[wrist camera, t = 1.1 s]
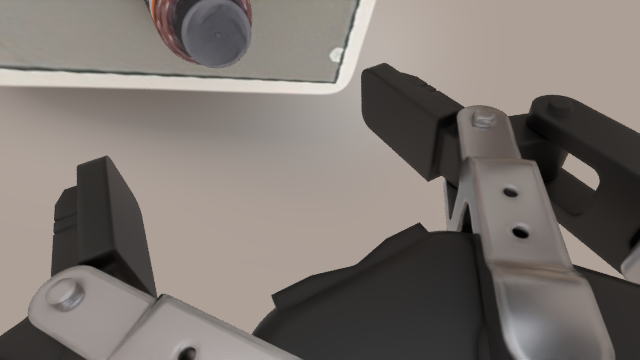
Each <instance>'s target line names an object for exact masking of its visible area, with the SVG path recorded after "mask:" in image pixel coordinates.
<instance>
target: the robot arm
mask: <svg viewBox="0 0 640 360" xmlns="http://www.w3.org/2000/svg"><path fill="white" fill-rule="evenodd" d="M361 94H362V96H361V97H362V115H363V119H364V121H365V123H366V125H367V126H368V127H369V128H370V129H371V130H372V131H373V132H374V133H375V134H376V135H377V136H379V137H380V138H381V139H382V140H383V141H384V142H385V143H386V144H387V145H389V146H390V147H391V148H392V149H393V150H394V151H395V152H396V153H397V154H398V155H399V156H400V157H402V158H403V159H404V160H405V161H406V162H407V163H408V164H409V165H410V166H411V167H413V168H414V169H415V170H416V171H417V172H418V173H419V174H420V175H421V176H422V177H423V178H425V179H426V180H427V181H428V182H429V181H431V180H433V179H435V178H437V177H439V176H443V177H444V178H445V181H444V199H445V211H446V225H447V231H434V232H428V231H427V230H426V229H425V228H424V227H423V226H422V225H421V224H420V223H417V224H415V225H413V226H411V227H409V228H407V229H405V230H403V231H401V232H399V233H397V234H395V235H393V236H391V237H389V238H387V239H385V240H384V241H383V242H382V243H381V244H380V245H379V246H377V247H376V248H375V249H374V250H373V251H372V252H371V253H369V254H368V255H367V256H366V257H365V258H364V259H362V260H361V261H360V262H359V263H358V264H356V265H354V266H350V267H346V268H342V269H338V270H334V271H330V272H325V273H320V274H316V275H312V276H309V277H307V278H305V279H303V280H301V281H299V282H297V283H295V284H293V285H291V286H289V287H287V288H285V289H283V290H281V291H279V292H277V293H275V294H273V295H272V299H273V302H274V304H275V307H276V308H274V309H273V311H271V312H270V313H269V314H268V315H267V316H266V317H265V318H264V319H263V320H262V321H261V322H260V323H259V325H258V326H257V327H256V329H255V330H254V331H253V333H252V335H251V334H249V333H247V332H244V331H243V330H241V329H239V328H236V327H234V326H232V325H230V324H228V323H226V322H224V321H222V320H220V319H218V318H216V317H214V316H212V315H210V314H208V313H205V312H203V311H201V310H199V309H197V308H195V307H193V306H191V305H189V304H187V303H185V302H183V301H181V300H179V299H177V298H174V297H172V296H170V295H167V294H161V295H160V296H159V298H157V293H156V288H155V282H154V277H153V272H152V267H151V261H150V257H149V251H148V246H147V240H146V235H145V230H144V224H143V219H142V214H141V211H140V208H139V206H138V203H137V201H136V199H135V197H134V195H133V193H132V192H131V190H130V189H129V187H128V185H127V184H126V182H125V181H124V179H123V177H122V176H121V174H120V173H119V171H118V170H117V168H116V167H115V165H114V163H113V162H112V160H111V159H110V158H109V157H108V156H104V157H101V158H98V159H95V160H92V161H89V162H86V163H83V164H80V165H78V166H77V186H74V187H71V188H68V189H65V190H64V191H63V193H62V195H61V196H60V198H59V200H58V201H57V203H56V205H55V214H54V221H55V223H54V234H55V235H53V251H52V268H51V278H50V279H49V280H47V281H46V282H45V283H44V284H43V285H42V286H41V287H40V288H39V289H38V291H37V292H36V293H35V295H34V296H33V298H32V300H31V302H30V304H29V308H28V316H27V317H26V318H25V319H24V320H23V321H21V322H20V323H19V324H17V325H16V326H14V327H13V328H11V329H10V330H8V331H7V332H6V333H4V334H3V335H1V336H0V360H640V133H637V132H636V131H634V130H632V129H630V128H628V127H626V126H624V125H622V124H620V123H619V122H617V121H615V120H613V119H611V118H609V117H607V116H605V115H603V114H601V113H599V112H598V111H596V110H594V109H592V108H590V107H588V106H586V105H584V104H583V103H581V102H579V101H577V100H574V99H572V98H569V97H565V96H560V95H545V96H540V97H538V98H536V99H535V100H534V101H533V102H532V105H531V108H530V111H529V113H528V114H521V115H514V116H507V115H506V114H505V113H504V112H502V111H500V110H498V109H496V108H493V107H489V106H481V105H480V106H479V105H478V106H470V107H466V108H465V107H464V106H462V105H460V104H459V103H457V102H456V101H454V100H453V99H451V98H449V97H448V96H446V95H445V94H443V93H441V92H440V91H436V89H435V88H434V87H432V86H430V85H428V84H427V83H426V82H424V81H423V80H421V79H419V78H418V77H415V76H412V75H409V74H406V73H401V72H399V71H397V70H396V69H394V68H393V67H391V66H390V65H388V64H387V63H382V64H379V65H376V66H373V67H371V68H367V69H365V70H363V72H362V75H361ZM568 153H570V154H572V155H573V156H575V157H576V158H578V159H580V160H581V161H583V162H584V163H586V164H587V165H589V166H590V167H592V168H593V169H595V171H596V172H597V173H598V175H599V179H600V183H599V186H598V188H597V190H596V191H595V190H593V189H592V188H590V187H589V186H587V185H586V184H585V183H583V182H582V181H580V180H578V179H577V178H576V177H574V176H573V175H572V174H570V173H569V172H567V171H566V170H564V169H563V168H562V166H563V164H564V161H565V159H566V157H567V155H568ZM557 222H558V223H559V224H561V225H562V226H563V227H564V228H566V229H567V230H568V231H569V232H570V233H572V234H573V235H574V236H575V237H577V238H578V239H579V240H580V241H581V242H583V243H584V244H585V245H586V246H588V247H589V248H590V249H591V250H592V251H594V252H595V253H596V254H597V255H599V256H600V257H601V258H602V259H603V260H605V261H606V262H607V263H608V264H610V265H611V266H612V267H613V268H615V269H616V270H617V271H618V272H619V273H621V274H622V275H623V276H624V278H625V280H624V279H620V278H617V277H614V276H610V275H607V274H604V273H600V272H597V271H594V270H590V269H587V268H583V267H580V266H577V265H573V264H572V263H571V260H570V257H569V254H568V251H567V248H566V246H565V243H564V240H563V237H562V234H561V231H560V228H559V226H558V223H557Z"/></svg>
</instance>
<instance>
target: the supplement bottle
mask: <svg viewBox="0 0 640 360" xmlns="http://www.w3.org/2000/svg"><path fill="white" fill-rule="evenodd" d="M144 1H145V3H146V5H147V8H148V10H149V12H150V14H151V17H152V19H153V21H154V24H155V26H156V28H157V30H158V32H159V34H160V36H161V38H162V40H163V41H164V42H165V44H166V45H167V46H168V47H169V48H170V49H171V50H172V51H173V52H174V53H175V54H176V55H177V56H179V57H181V58H182V59H185V60H186V61H189V62H191V63H195V64H199V65H204V66H207V67H211V68H223V67H227V66H230V65H232V64H234V63H236V62H237V61H238V60H240V58H241V57H242V56H243V55H244V54H245V53H246V51H247V49H248V47H249V44H250V39H251V25H252V11H251V5H250V2H249V0H144Z"/></svg>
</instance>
